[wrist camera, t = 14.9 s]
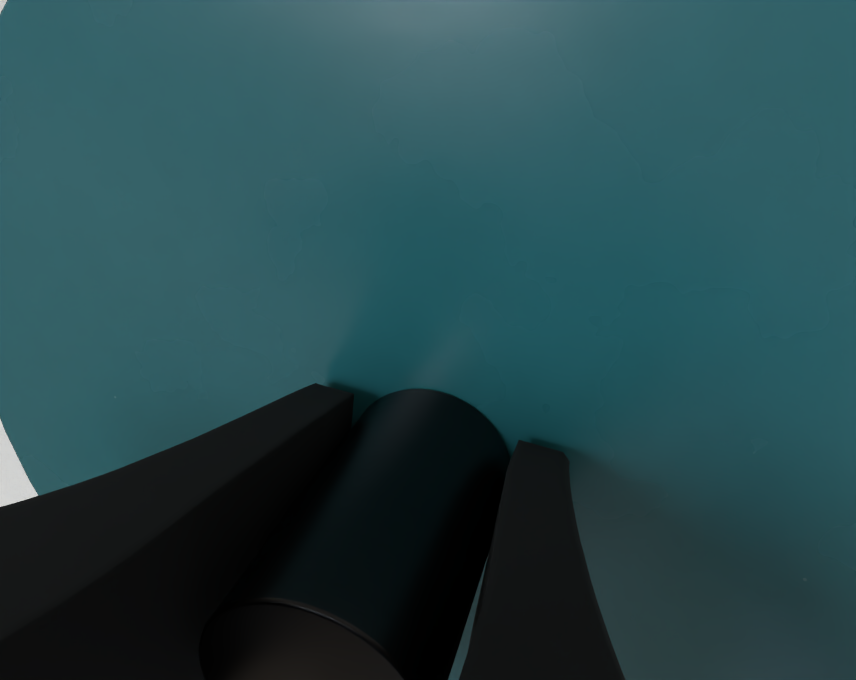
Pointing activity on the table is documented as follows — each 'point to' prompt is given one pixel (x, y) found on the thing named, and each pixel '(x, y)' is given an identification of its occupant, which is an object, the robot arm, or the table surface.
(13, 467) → the table surface
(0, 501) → the table surface
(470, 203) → the teal disc
